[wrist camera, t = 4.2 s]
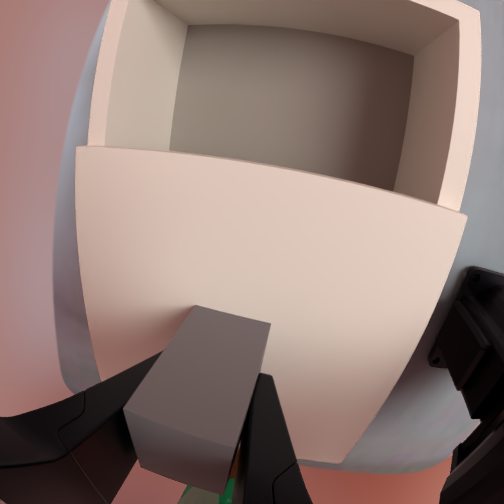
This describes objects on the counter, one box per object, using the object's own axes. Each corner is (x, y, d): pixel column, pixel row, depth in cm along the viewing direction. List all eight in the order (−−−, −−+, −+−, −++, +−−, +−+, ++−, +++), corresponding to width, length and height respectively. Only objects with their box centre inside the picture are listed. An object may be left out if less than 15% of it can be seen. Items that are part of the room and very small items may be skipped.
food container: (181, 413, 21) (130, 512, 12) (257, 425, 20) (223, 541, 11) (206, 477, 26) (177, 550, 16) (262, 487, 24) (241, 565, 15)
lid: (460, 211, 7) (570, 291, 3) (340, 455, 12) (334, 544, 7) (85, 145, 9) (-39, 169, 4) (110, 392, 13) (61, 459, 9)
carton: (427, 50, 10) (479, 11, 5) (378, 285, 14) (402, 355, 9) (181, 16, 11) (119, -26, 6) (155, 236, 16) (91, 280, 11)
